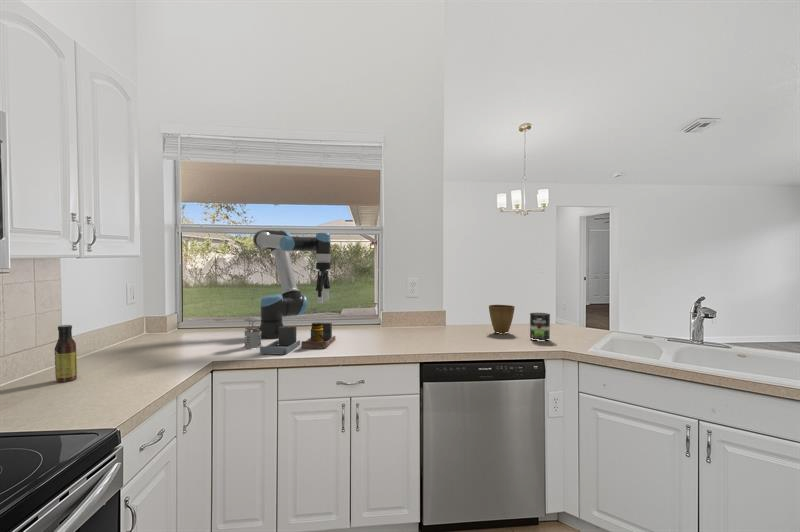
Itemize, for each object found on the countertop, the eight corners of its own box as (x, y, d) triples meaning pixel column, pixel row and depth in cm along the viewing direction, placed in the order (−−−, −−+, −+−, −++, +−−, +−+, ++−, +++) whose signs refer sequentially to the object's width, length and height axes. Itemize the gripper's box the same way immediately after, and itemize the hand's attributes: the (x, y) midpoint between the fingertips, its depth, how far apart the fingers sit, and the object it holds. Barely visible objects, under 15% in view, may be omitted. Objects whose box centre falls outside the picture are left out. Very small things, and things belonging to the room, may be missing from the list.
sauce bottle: (63, 378, 158) (62, 324, 158) (81, 377, 159) (80, 323, 159) (50, 383, 152) (49, 326, 152) (69, 382, 152) (68, 326, 152)
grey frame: (277, 344, 219) (276, 326, 219) (300, 344, 218) (300, 326, 218) (260, 353, 197) (260, 333, 197) (286, 354, 196) (285, 334, 196)
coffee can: (549, 342, 227) (549, 315, 226) (528, 340, 230) (529, 314, 230) (550, 338, 236) (550, 313, 236) (530, 337, 240) (530, 312, 240)
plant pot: (484, 333, 252) (484, 306, 252) (494, 330, 265) (494, 304, 264) (509, 336, 244) (509, 307, 244) (518, 332, 256) (518, 305, 256)
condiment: (326, 347, 213) (326, 323, 213) (310, 349, 208) (310, 324, 208) (319, 345, 219) (319, 321, 219) (304, 347, 214) (303, 323, 214)
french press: (243, 350, 207) (243, 298, 207) (240, 345, 217) (240, 296, 217) (265, 348, 212) (264, 297, 211) (260, 344, 222) (260, 295, 222)
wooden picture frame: (313, 339, 232) (313, 322, 232) (335, 339, 231) (335, 322, 231) (301, 347, 210) (301, 329, 210) (325, 348, 209) (325, 329, 209)
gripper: (324, 262, 217) (324, 304, 217) (335, 261, 242) (335, 299, 242) (309, 262, 217) (310, 304, 218) (321, 261, 242) (321, 299, 242)
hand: (323, 302), depth 230 cm, fingers open, 13 cm apart
